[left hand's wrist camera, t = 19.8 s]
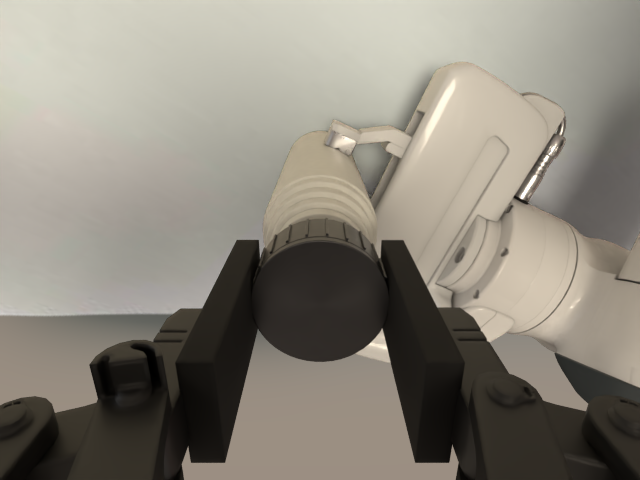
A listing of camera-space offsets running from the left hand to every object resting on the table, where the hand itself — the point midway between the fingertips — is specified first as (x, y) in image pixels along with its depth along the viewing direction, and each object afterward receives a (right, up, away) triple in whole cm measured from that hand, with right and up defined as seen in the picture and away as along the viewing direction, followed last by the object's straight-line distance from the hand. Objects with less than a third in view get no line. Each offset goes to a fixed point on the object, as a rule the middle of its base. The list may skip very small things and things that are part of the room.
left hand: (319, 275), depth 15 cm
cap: (0, -1, -2) cm, 2 cm away
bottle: (0, +7, +18) cm, 20 cm away
